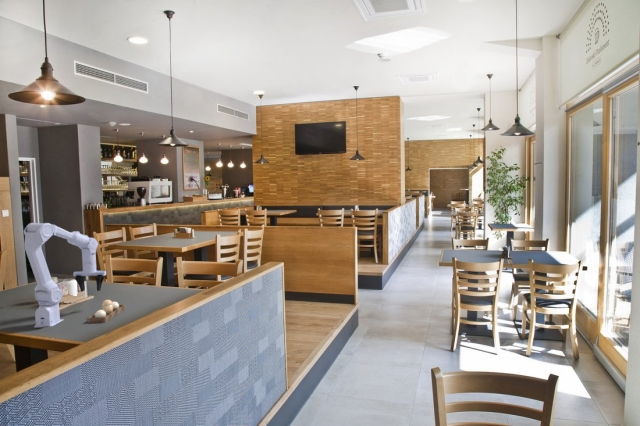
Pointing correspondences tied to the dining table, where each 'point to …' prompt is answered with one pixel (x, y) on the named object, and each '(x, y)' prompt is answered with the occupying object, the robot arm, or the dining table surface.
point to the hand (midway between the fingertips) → (90, 290)
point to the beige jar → (107, 306)
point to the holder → (108, 315)
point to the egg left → (100, 313)
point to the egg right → (115, 305)
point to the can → (71, 286)
